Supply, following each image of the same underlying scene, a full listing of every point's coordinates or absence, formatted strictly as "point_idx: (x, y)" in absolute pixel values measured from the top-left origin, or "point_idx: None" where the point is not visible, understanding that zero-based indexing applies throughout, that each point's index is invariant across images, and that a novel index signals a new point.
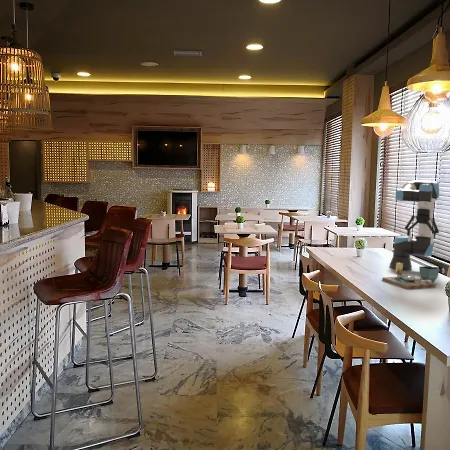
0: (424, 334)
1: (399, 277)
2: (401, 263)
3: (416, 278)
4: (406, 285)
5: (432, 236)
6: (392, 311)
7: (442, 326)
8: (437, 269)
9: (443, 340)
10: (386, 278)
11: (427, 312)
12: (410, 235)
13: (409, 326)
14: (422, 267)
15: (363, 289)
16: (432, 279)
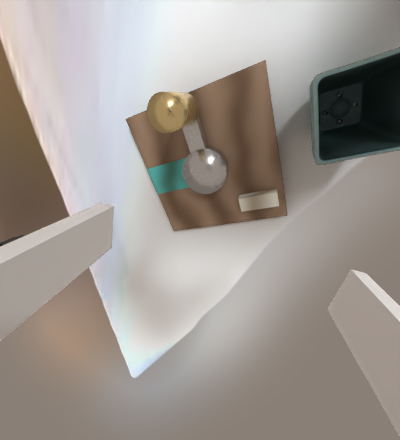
0: (129, 361)
1: None
2: (170, 124)
3: (267, 123)
4: (173, 225)
5: (385, 409)
6: (112, 317)
7: (154, 358)
8: (390, 151)
9: (141, 371)
10: (136, 135)
11: (156, 330)
12: (60, 284)
13: (120, 348)
14: (316, 108)
15: None
16: (343, 136)
